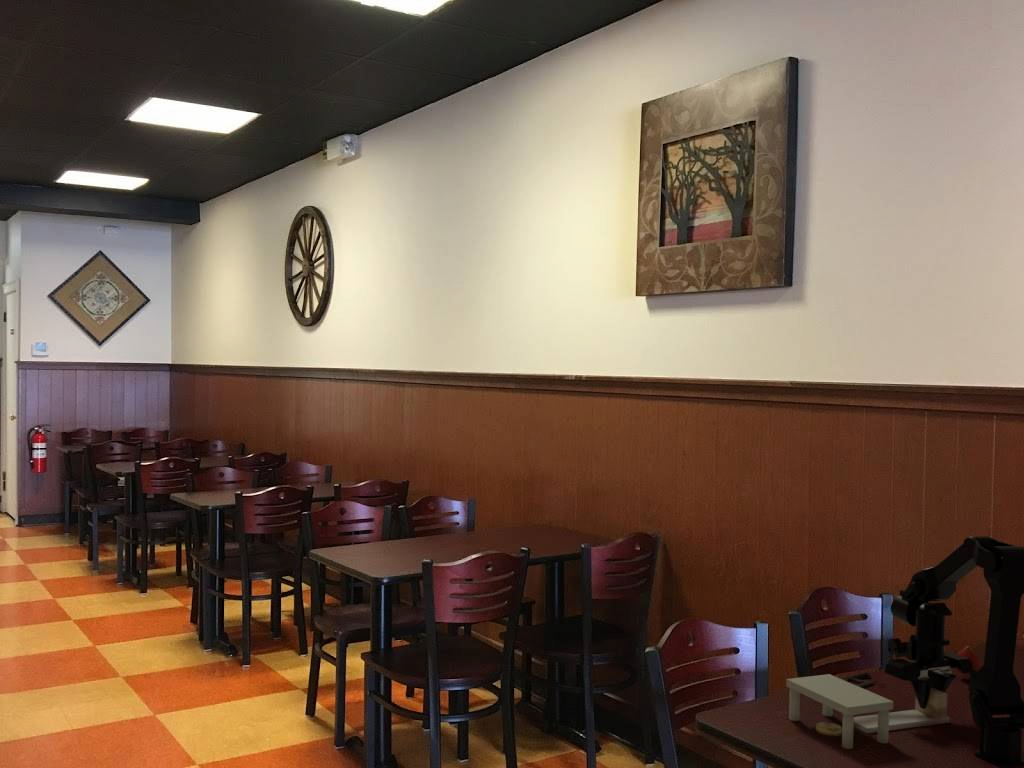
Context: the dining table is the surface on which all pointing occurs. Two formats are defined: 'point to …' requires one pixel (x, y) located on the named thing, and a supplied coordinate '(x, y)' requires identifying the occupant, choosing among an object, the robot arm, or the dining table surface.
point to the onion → (974, 659)
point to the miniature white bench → (840, 703)
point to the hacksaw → (863, 682)
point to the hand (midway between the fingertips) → (927, 707)
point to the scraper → (910, 715)
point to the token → (829, 729)
